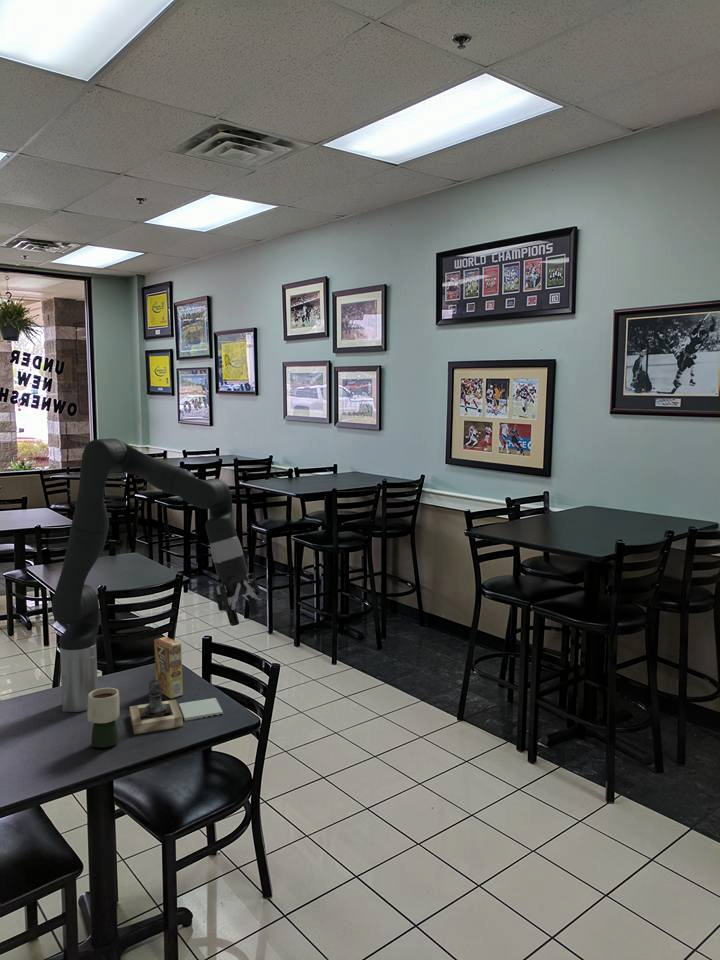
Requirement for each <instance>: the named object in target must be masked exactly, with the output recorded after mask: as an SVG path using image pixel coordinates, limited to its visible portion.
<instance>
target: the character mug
mask: <svg viewBox="0 0 720 960" xmlns="http://www.w3.org/2000/svg"><path fill="white" fill-rule="evenodd" d="M119 692H120V691H119V690H118V688H114V687H102V688H101V687H100V688H98V689H96V690H93V691H91V692H90V693H89V694H88V710H86V712H87V721H88V722H89V723H90V722H91V723H93V725H92V729H91V730H92V731H91V740H90V741H91V743H90V744H91V746H92V747H93V748H109V747H112V746H115V745H117V744H118V743H119V741H120V739H119V733H118V731H119V730H118V727H117V726H118V725H117V722H116V720H118V718H119V717H120V693H119Z"/></svg>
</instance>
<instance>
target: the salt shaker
mask: <svg viewBox="0 0 720 960" xmlns="http://www.w3.org/2000/svg"><path fill="white" fill-rule="evenodd" d="M148 685H149V686H148V687H149V688H148V689H149V692H148V694H147V696H149V699H148V700H149V701H148V704H149V705H147V706H146V707H145V708H144V711H145V713H146V715H147V716H146V717H147V719H152V718H159V717H164V716H165V714H166V713H165V712H166V709H167V705H166V704H163V703H162V701H163V700H162V695H163V694H162V692H161V683H160V681H159V680H157V679H156V676H153V679H152V680H150V681H149V682H148Z"/></svg>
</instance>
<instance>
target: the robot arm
mask: <svg viewBox="0 0 720 960" xmlns="http://www.w3.org/2000/svg"><path fill="white" fill-rule="evenodd" d="M80 461H81V462H80V472H79V483H78V490H77V497H76V502H75V508H74V514H73V518H72V520H71V526H70V531H69V535H68V540H67V541H68V543H67V546H66V550H65V556H64V558H63V559H64V560H63V565H62V568H61V572H60V576H59V579H58V581H57V584H56V588H55V591H54V594H53V597H52V601H51V613H52V615H53V619H55V621H56V622H57V623H59V624H60V625H63V626H64V625H65V626H66V625H67V628H66V629H65V630H64V632H63V633H61V635H60V637H59V651H60V652H59V653H60V654H59V655H60V681H61V684H60V685H61V688H60V689H61V708H62V711H61V712H63V713H65V712H70V713H74V712H75V713H78V712H84V711H88V694H89V693H90V692H91V691H93V690H96V689H99V684H98V683H99V682H98V659H97V656H98V655H97V637H98V633H99V627H100V626H99V625H100V623H99V622H100V601H99V597H98V594H97V592H96V590H95V589H94V588H93V587H92V586H91V585H88V584H85V582H86V579H87V577H88V575H89V573H90V571H91V569H92V568H93V567H94V565H95V564H96V562H97V560H98V559H99V557H100V556H101V554H102V552H103V550H104V548H105V545H106V542H107V537H108V531H109V527H110V519H109V514H108V511H107V506H106V504H105V496H104V495H105V488H106V483H107V480H108V476H109V475H111V474H117V473H124V474H129V475H132V476H133V475H134V476H137V477H138V478H141V479H143V480H144V481H146V482H147V483H148V484H150V485H151V486H153V487H154V488H155V489H157V490H160V491H162V492H165V493H167V494H171V495H173V496H175V497H178V498H180V499H182V500H184V501H185V502H186V503H187V504H189V505H192V506H193V507H195V508H198V509H203V510H208V511H209V518H208V520H206V522H205V531H206V535H207V538H208V542H209V547H210V553H211V557H212V561H213V564H214V567H215V572H216V575H217V578H218V579H219V580H221V582H222V583H221V585H218V586H215V587H214V589H213V591H214V595H215V599H216V602H217V608H218V611H219V612H225V613H226V615H227V618H228V623H229V625H230V626H232V627H234V626H238V625H240V621H239V617H238V614H237V609H236V602H237V601H238V600H239V598H240V597H244V598H245V599H246V600H247V604H248V608H249V612H250V615H251V616H257V615H260V608H259V605H258V600H257V599H258V596H260V595H261V589H260V586H259V583H258V581H257V577H256V574H255V572H250V573H248V566H247V563H246V559H245V555H244V552H243V548H242V544H241V542H240V539H239V537H238V534H237V530H236V526H235V524H234V523H235V522H234V519H233V518H234V517H233V516H234V515H233V514H234V512H233V498H232V492H231V490H230V489H231V488H230V486H229V485H228V484H227V483H226V482H225V481H224V480H223V479H220V478H212V479H208V480H207V479H206V480H205V479H199V478H197V477H196V476H195V474H194V473H193V472H192V471H189V470H187V469H184V468H181V467H179V466H176V465H173V464H170V463H167V462H164V461H162V460H159V459H157V458H154V457H152V456H150V455H147V454H146V453H144V452H142V451H140V450H138V449H136V448H134V447H133V446H131V445H130V444H128V443H126V442H124V441H122V440H120V439H118V438H97V439H92V440H90V441H89V442H88V443H87V444H86V445H85V446H84V449H83V451H82V454H81V460H80Z"/></svg>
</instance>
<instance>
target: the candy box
mask: <svg viewBox="0 0 720 960" xmlns="http://www.w3.org/2000/svg"><path fill="white" fill-rule="evenodd" d="M153 644H154V646H153V647H154V667H155V677H156V679H157V680H159V681H160V683H161V692H162V695H164V696H166V697H168V698H169V699H175V698H177V697H180V696H183V695H184V691H183V690H184V689H183V688H184V687H183V685H184V684H183V664H182V663H183V662H182V661H183V660H182V657H183V656H182V643H181V642H178V641H176V640H174V639H172V638H170V637H168V636H163V637H160V638H156V639H154V643H153Z"/></svg>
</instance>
